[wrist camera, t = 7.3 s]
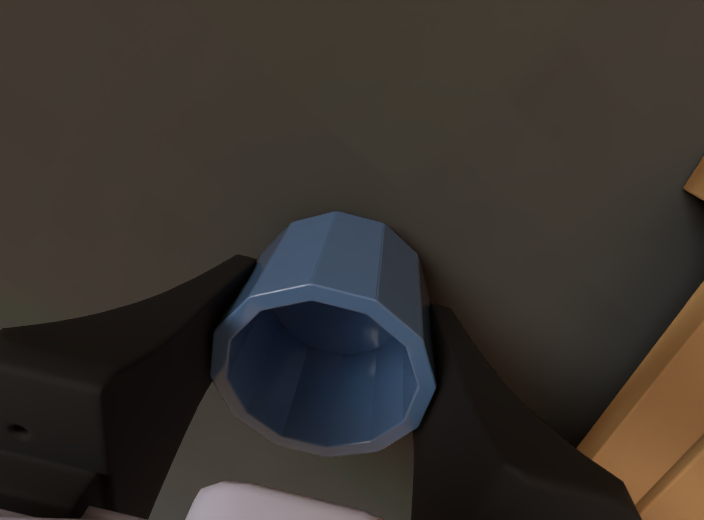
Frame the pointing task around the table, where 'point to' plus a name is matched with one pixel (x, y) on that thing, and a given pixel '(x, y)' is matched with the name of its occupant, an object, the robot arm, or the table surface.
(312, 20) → the table surface
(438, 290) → the table surface
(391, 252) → the blue faceted cup
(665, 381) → the rack
